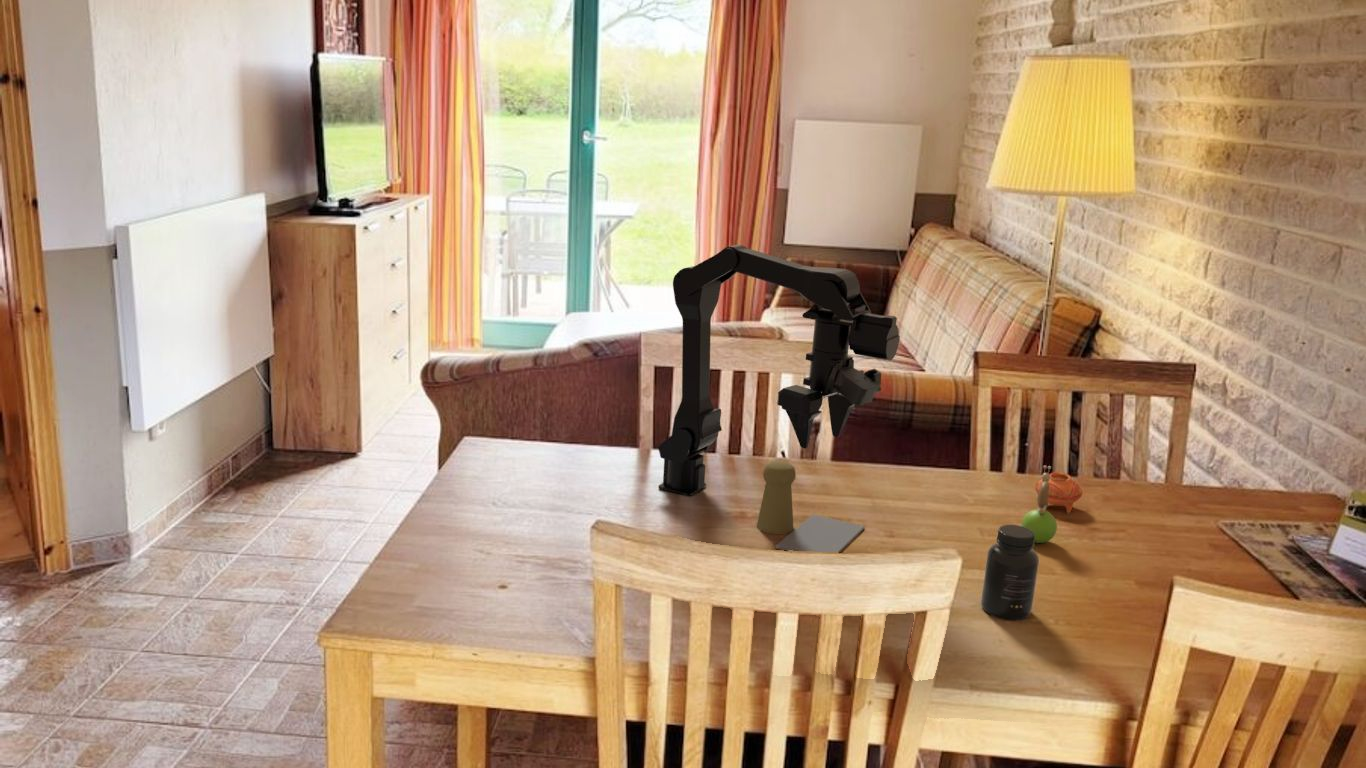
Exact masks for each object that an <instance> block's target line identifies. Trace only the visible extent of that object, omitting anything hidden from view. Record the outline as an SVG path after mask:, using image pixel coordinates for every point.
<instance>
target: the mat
mask: <svg viewBox="0 0 1366 768" xmlns="http://www.w3.org/2000/svg"><path fill="white" fill-rule="evenodd" d="M864 529H865V526H864V525H860V524H856V523H852V522H848V521H843V520H839V519H835V518H831V517H826V516H822V515H819V514H814V513H812V515H810V517H808V518H807V519H806V520H805V521H804V522H802V523H801V524H799V526H798V527H796V528H795V529H793V531H792V532H790V533H788V535H787V536H785V538H783V539H782V540H781V541H780V542H779V543H777V544H776V545H775V547H777V548H775V549H777V550H780V549H781V550H780V551H784V550H793V551H814V552H840V553H841V552H842V551H843V550H844V549H845V548H846V547H847V546H848V545H849V544H850V543H851V542H853V540H854V539H856V537H858V536H859V534H860V533H862V532H863V531H864Z"/></svg>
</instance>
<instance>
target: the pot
mask: <svg viewBox="0 0 1366 768" xmlns="http://www.w3.org/2000/svg"><path fill="white" fill-rule="evenodd" d="M1049 475H1050V479H1049V499H1048V504H1050V505H1052V506H1058V507H1059V506H1061V507H1065V510H1066V514H1070V513H1071V511H1072V508H1073V505H1074V503H1076V502H1077V501H1078V500H1079V499H1080V498H1082V496H1083V489H1082V488H1081V486H1080V484H1079V483H1078V482H1077V480H1074V479H1073V478H1072V476H1071V475H1070V474H1067V473H1065V472H1058V471H1057V472H1051V473H1049ZM1041 483H1042V478H1041V479H1040V480H1039V481H1038V482H1037V483H1036V484H1035V487H1034V489H1035V491H1036V493H1037V494H1038V491H1039V487H1040V486H1041Z"/></svg>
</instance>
